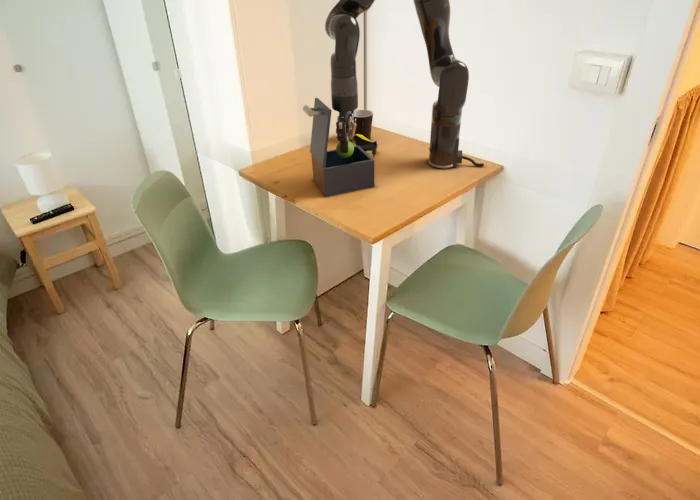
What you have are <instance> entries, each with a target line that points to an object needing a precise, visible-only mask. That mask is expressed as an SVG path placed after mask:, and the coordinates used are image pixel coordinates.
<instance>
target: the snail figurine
mask: <svg viewBox="0 0 700 500" xmlns="http://www.w3.org/2000/svg"><path fill="white" fill-rule="evenodd" d="M354 121H356V119H355V120H354ZM355 128H356V122H355V123H352V130H351V129H350V133H348V153H341V148H340V141H338V142H337V143H336V146H335V150H336V152H337V154H338V155H339V156H340V157H342V158H348V157H350V156H351V155H352V154H353V152H354V146H355V145H354V144H353V142H352V143H351V142H350V141H349V140H351V139H352V140H353V136H354V133H355ZM346 130H347V129H346ZM335 133H336V134H337V127H336V128H335ZM342 137H344V135H343V134H342ZM336 139H337V140H338V137H337V136H336Z"/></svg>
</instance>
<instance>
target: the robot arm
mask: <svg viewBox="0 0 700 500" xmlns="http://www.w3.org/2000/svg"><path fill="white" fill-rule="evenodd" d="M375 1H376V0H339V1H338V2H337V3H336V4H335V5H334V6H333V7H332V9H331V10H330V11H329V13H328V14H327V16H326V19H325V23H324V31H325V34H326V35H327V37H328V38H330V39H331V40H333V41H334V43H335V44H334V52H333V53H331V55H330V64H329V65H330V96H331V97H330V98H331V100H330V101H331V110H332V111H335V112H338V115H337V116H336V117H337V121H336V122H335V126H336V128H337V133H336V137H338V139H337V141H338V142H340V148H341V153H348V133H350V129H351V130H352V123H354V111H355V110H358V108H359V89H358V87H359V84H358V76H357V56H358V51H359V45H360V37H361V29H360V24H359V21H358V19H357V18H359V16H360V15H361V14H363V13H367V12H369V10H370V9H371V8H372V6H373V4H374V3H375ZM412 1H413V5H414V9H415V13H416V16H417V19H418V23H419V27H420V31H421V34H422V38H423V40H424V44H425V47H426V52H427V60H428V66H429V73H430V77H431V81H432V82H433V83H434V85H435V86H436V87H438V92H437V93H438V94H437V100H435V101H434V102H433V103H432V107H431V108H432V109H431V119H430V120H431V122H430V137H429V147H428V162H427V163H428V165H429V166H431V167H432V168H435V169H444V170H445V169H451V168H457V165H458V164H462V163H463V160H466V161H468V162H471V164H472V165H473V166H476V167H484V165H485V164H484V163H481V162H480V163H479V162H476V161H475V160H474V159H472V158H471V157H468V156H465V155H463V150H460V149H459V146H460V135H461V134H460V133H461V123H462V114H463V108H464V106H465V104H466V100H467V95H468V88H469V82H470V81H469V80H470V72H469V67H468V66H467V64H466V63H465V62H463V61H461V60H460V59H457V58H456V56H455V54H454V51H453V46H452V44H451V39H450V25H451V24H450V22H451V3H450V0H412ZM346 129H347V130H346ZM342 134H343V135H344V137H342ZM349 141H350V142H351V143H352V144H353V138H352V139H351V140H349Z"/></svg>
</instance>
